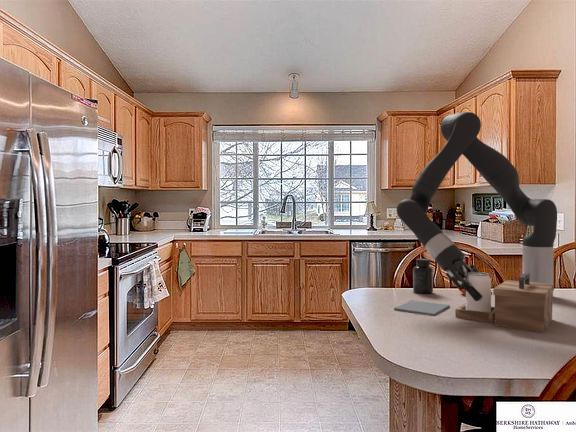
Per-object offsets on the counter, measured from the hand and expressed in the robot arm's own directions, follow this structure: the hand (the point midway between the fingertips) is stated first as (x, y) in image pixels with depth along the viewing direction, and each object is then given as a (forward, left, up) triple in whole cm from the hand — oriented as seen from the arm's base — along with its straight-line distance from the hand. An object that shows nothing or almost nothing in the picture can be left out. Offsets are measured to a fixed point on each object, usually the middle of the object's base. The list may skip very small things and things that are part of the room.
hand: (484, 297), depth 122 cm
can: (0, -2, -6) cm, 6 cm away
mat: (0, -18, -5) cm, 19 cm away
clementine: (-31, -13, -6) cm, 34 cm away
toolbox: (0, +5, -5) cm, 7 cm away
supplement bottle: (-25, -27, -6) cm, 37 cm away
